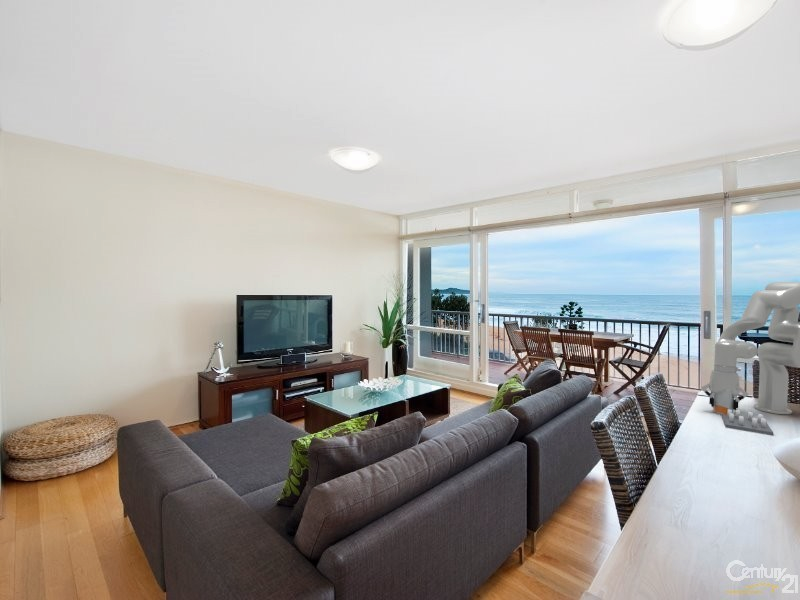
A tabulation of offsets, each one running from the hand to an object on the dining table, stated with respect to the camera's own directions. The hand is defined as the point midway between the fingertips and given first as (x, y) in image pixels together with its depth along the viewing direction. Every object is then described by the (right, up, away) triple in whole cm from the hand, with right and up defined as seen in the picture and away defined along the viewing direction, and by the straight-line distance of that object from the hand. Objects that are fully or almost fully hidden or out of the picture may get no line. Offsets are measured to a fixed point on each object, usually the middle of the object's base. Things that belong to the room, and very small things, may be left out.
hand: (723, 407), depth 169 cm
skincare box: (0, -3, 0) cm, 3 cm away
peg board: (-3, -3, -14) cm, 15 cm away
